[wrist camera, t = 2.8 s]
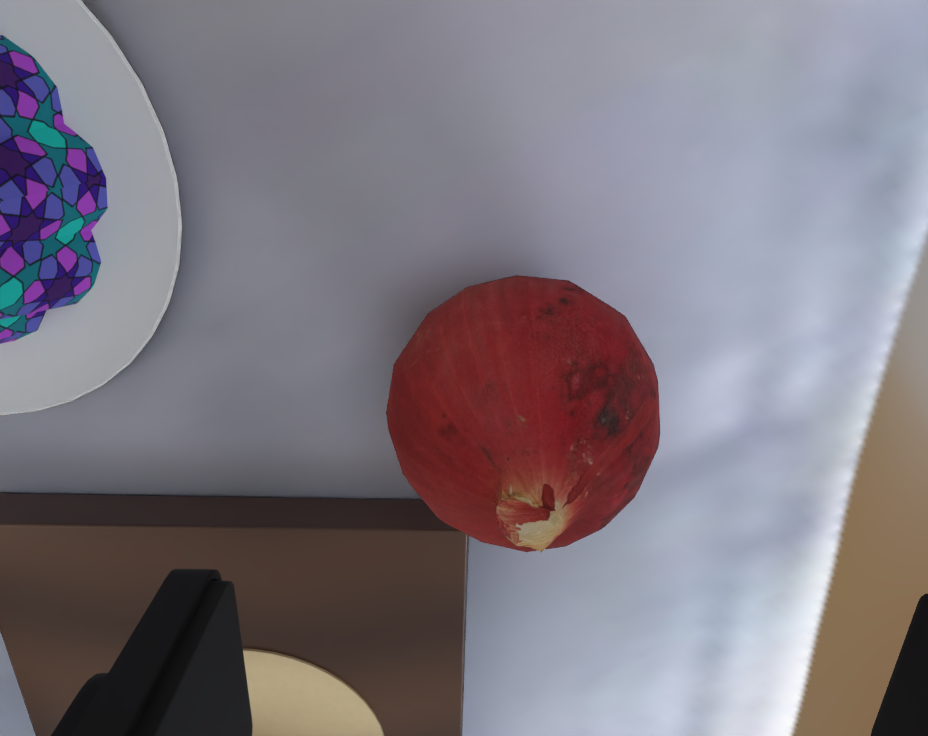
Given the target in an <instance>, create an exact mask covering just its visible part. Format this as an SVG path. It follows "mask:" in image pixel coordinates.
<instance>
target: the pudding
mask: <svg viewBox="0 0 928 736" xmlns="http://www.w3.org/2000/svg"><path fill="white" fill-rule="evenodd" d="M181 235H182V218H181V208H180V199H179V190H178V181H177V176H176V173H175V169H174V166H173V162H172V159H171V155H170V151H169V148H168V144H167V141H166V137H165V134H164V131H163V128H162V126H161V124H160V122H159V120H158V117H157V115H156V113H155V111H154V109H153V106H152V104H151V102H150V100H149V98H148V95H147V93H146V91H145V89H144V87H143V84H142V83H141V81H140V79H139V78H138V76H137V75H136V73H135V72H134V70H133V69H132V67H131V65H130V64H129V62H128V61H127V59H126V58H125V56H124V54H123V53H122V51H121V50H120V48H119V47H118V45H117V44H116V42H115V40H114V39H113V37H112V36H111V35H110V33H109V32H108V31H107V30H106V29H105V28H104V26H103V25H102V24H101V23H100V22H99V21H98V19H97V18H96V17H95V16H94V15H93V14H92V12H91V11H90V10H89V9H88V8H87V7H86V5H85V4H84V3H83V2H82V1H81V0H0V415H7V414H17V413H26V412H35V411H39V410H43V409H46V408H50V407H53V406H57V405H60V404H64V403H67V402H71V401H73V400H75V399H77V398H79V397H81V396H83V395H85V394H87V393H89V392H91V391H93V390H95V389H97V388H99V387H101V386H102V385H104V384H105V383H106V382H108V381H109V380H110V379H111V378H113V377H114V376H115V375H116V374H118V373H119V372H120V371H121V370H123V369H124V368H125V367H126V366H128V365H129V364H130V363H131V362H132V361H133V360H134V358H135V357H136V356H137V355H138V353H139V352H140V351H141V350H142V348H143V347H144V346H145V345H146V344H147V342H148V341H149V340H150V339H151V337H152V336H153V334H154V332H155V330H156V328H157V326H158V324H159V323H160V321H161V319H162V317H163V315H164V313H165V311H166V309H167V307H168V305H169V302H170V299H171V295H172V291H173V288H174V284H175V280H176V276H177V273H178V269H179V263H180V249H181Z"/></svg>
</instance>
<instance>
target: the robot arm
mask: <svg viewBox="0 0 928 736" xmlns="http://www.w3.org/2000/svg"><path fill="white" fill-rule="evenodd" d="M252 729H253V725H252V715H251V708H250V700H249V693H248V685H247V678H246V670H245V663H244V655H243V648H242V640H241V633H240V625H239V618H238V610H237V603H236V595H235V588H234V584H233V583H232V581H222V578H221V574H220V573H219V571H218V570H215V569H174V570H172V571H171V572H170V573H169V574H168V575H167V577H166V578H165V580H164V582H163V583H162V585H161V587H160V588H159V590H158V592H157V593H156V595H155V597H154V598H153V600H152V602H151V603H150V605H149V607H148V608H147V610H146V611H145V613H144V615H143V616H142V618H141V620H140V621H139V623H138V625H137V626H136V628H135V630H134V631H133V633H132V635H131V636H130V638H129V640H128V641H127V643H126V645H125V646H124V648H123V650H122V651H121V653H120V655H119V656H118V658H117V659H116V661H115V663H114V664H113V666H112V668H111V669H110V671H109V673H98V674H95V675H94V676H93V677H91V678H90V679H88V680H87V682H86V683H85V684H84V686H83V687H82V688H81V689H80V691H79V692H78V694H77V695H76V697H75V698H74V700H73V702H72V703H71V705H70V706H69V708H68V709H67V711H66V713H65V714H64V716H63V717H62V719H61V721H60V722H59V724H58V725H57V727H56V728H55V730H54V732H53V733H52V735H51V736H252ZM871 736H928V594H925V595H923V596H922V597H921V598H920V600H919V602H918V604H917V607H916V610H915V613H914V615H913V619H912V621H911V624H910V627H909V630H908V632H907V635H906V638H905V640H904V643H903V646H902V649H901V652H900V654H899V657H898V660H897V662H896V665H895V668H894V671H893V674H892V676H891V679H890V682H889V685H888V687H887V690H886V693H885V696H884V699H883V701H882V704H881V707H880V710H879V712H878V715H877V718H876V721H875V723H874V726H873V729H872V733H871Z"/></svg>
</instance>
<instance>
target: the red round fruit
mask: <svg viewBox="0 0 928 736" xmlns="http://www.w3.org/2000/svg"><path fill="white" fill-rule="evenodd" d="M386 414H387V422H388V429H389V433H390V436H391V439H392V442H393V445H394V448H395V451H396V455H397V458H398V461H399V464H400V467H401V470H402V473H403V475H404V476H405V478H406V479H407V480H408V482H409V483H410V485H411V486H412V487H413V489H414V490H415V491H416V492H417V493H418V495H419V496H420V497H421V498H422V499H423V501H424V502H425V503H426V504H427V505H428V507H429V508H430V509H431V510H432V511H433V513H434V514H435V515H436V516H437V517H438V518H439V519H440V520H442V521H443V522H444V523H446V524H448V525H450V526H452V527H454V528H456V529H457V530H459V531H461V532H463V533H465V534H467V535H469V536H471V537H473V538H475V539H477V540H479V541H481V542H484V543H488V544H493V545H497V546H502V547H506V548H511V549H515V550H520V551H525V552H529V551H536V550H538V551H541V552H542V551H543V550H544V549H550V548H557V547H564V546H567V545H569V544H571V543H573V542H576V541H578V540H580V539H582V538H584V537H586V536H588V535H590V534H592V533H594V532H597V531H599V530H600V529H602V528H603V527H605V526H606V525H607V524H608V523H609V522H610V521H611V520H612V519H613V518H614V517H615V516H616V515H617V514H618V513H619V512H620V511H621V510H622V509H623V508H624V507H625V506H626V505H627V504H628V503H629V502H630V501H631V500H632V499H633V498H634V497H635V495H636V493H637V492H638V490H639V488H640V486H641V484H642V482H643V479H644V477H645V475H646V473H647V471H648V469H649V466H650V464H651V462H652V460H653V458H654V455H655V453H656V451H657V449H658V445H659V437H660V418H659V394H658V380H657V376H656V372H655V368H654V365H653V363H652V361H651V359H650V357H649V356H648V354H647V352H646V351H645V349H644V347H643V345H642V344H641V342H640V340H639V339H638V337H637V335H636V334H635V332H634V330H633V328H632V327H631V325H630V323H629V322H628V320H627V318H626V317H625V316H624V315H623V314H621V313H620V312H618V311H617V310H615V309H614V308H612V307H611V306H609V305H608V304H606V303H604V302H603V301H601V300H600V299H598V298H596V297H595V296H593V295H592V294H590V293H588V292H587V291H585V290H584V289H582V288H580V287H579V286H577V285H576V284H574V283H572V282H570V281H568V280H557V279H547V278H537V277H527V276H512V277H508V278H503V279H499V280H495V281H490V282H486V283H481V284H477V285H473V286H468V287H467V288H465V289H464V290H462V291H461V292H459V293H458V294H456V295H455V296H453V297H452V298H450V299H449V300H447V301H446V302H444V303H443V304H441V305H440V306H438V307H437V308H435V309H434V310H432V311H431V312H429V313H428V314H427V316H426V317H425V319H424V320H423V322H422V323H421V325H420V326H419V328H418V329H417V331H416V332H415V334H414V335H413V337H412V338H411V340H410V341H409V343H408V344H407V346H406V347H405V348H404V350H403V351H402V353H401V354H400V356H399V357H398V359H397V360H396V362H395V363H394V366H393V373H392V379H391V386H390V392H389V398H388V405H387V411H386Z"/></svg>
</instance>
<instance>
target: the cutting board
mask: <svg viewBox="0 0 928 736" xmlns="http://www.w3.org/2000/svg"><path fill="white" fill-rule="evenodd" d="M468 544H469V535H467V534H465V533H463V532H461V531H459V530H457V529H456V528H454V527H452V526H450V525H448V524H446V523H444V522H443V521H442V520H440V519H439V518H438V517H437V516H436V515H435V514H434V513H433V511H432V510H431V509H430V508H429V507H428V505H427V504H426V503H425V502H424V501H423V500H389V499H324V498H260V497H195V496H130V495H66V494H1V493H0V631H1V634H2V637H3V640H4V643H5V646H6V649H7V652H8V655H9V658H10V661H11V664H12V666H13V669H14V672H15V675H16V678H17V681H18V684H19V687H20V690H21V693H22V696H23V699H24V702H25V705H26V708H27V711H28V714H29V717H30V719H31V722H32V725H33V728H34V731H35V734H36V736H51V735H52V733H53V732H54V730H55V728H56V727H57V725H58V724H59V722H60V721H61V719H62V717H63V716H64V714H65V713H66V711H67V709H68V708H69V706H70V705H71V703H72V702H73V700H74V698H75V697H76V695H77V694H78V692H79V691H80V689H81V688H82V687H83V686H84V684H85V683H86V682H87V680H88V679H90V678H91V677H93V676H94V675H95V674H98V673H109V671H110V669H111V668H112V666H113V664H114V663H115V661H116V659H117V658H118V656H119V655H120V653H121V651H122V650H123V648H124V646H125V645H126V643H127V641H128V640H129V638H130V636H131V635H132V633H133V631H134V630H135V628H136V626H137V625H138V623H139V621H140V620H141V618H142V616H143V615H144V613H145V611H146V610H147V608H148V607H149V605H150V603H151V602H152V600H153V598H154V597H155V595H156V593H157V592H158V590H159V588H160V587H161V585H162V583H163V582H164V580H165V578H166V577H167V575H168V574H169V573H170V572H171V571H172V570H174V569H215V570H218V571H219V573H220V574H221V578H222V581H232V583H233V584H234V588H235V595H236V603H237V610H238V618H239V625H240V633H241V640H242V648H243V655H244V663H245V670H246V678H247V685H248V693H249V700H250V708H251V715H252V725H253V729H252V736H462V721H463V692H464V662H465V633H466V603H467V574H468Z"/></svg>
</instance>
